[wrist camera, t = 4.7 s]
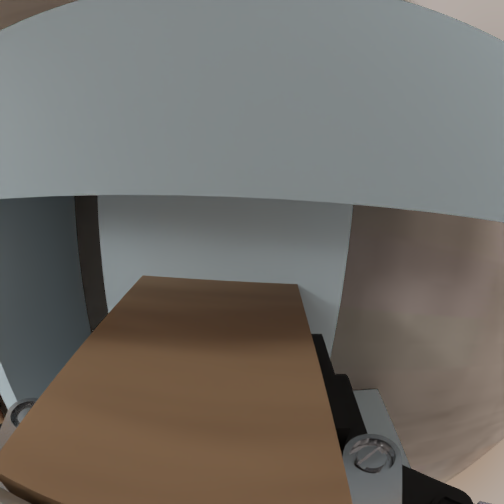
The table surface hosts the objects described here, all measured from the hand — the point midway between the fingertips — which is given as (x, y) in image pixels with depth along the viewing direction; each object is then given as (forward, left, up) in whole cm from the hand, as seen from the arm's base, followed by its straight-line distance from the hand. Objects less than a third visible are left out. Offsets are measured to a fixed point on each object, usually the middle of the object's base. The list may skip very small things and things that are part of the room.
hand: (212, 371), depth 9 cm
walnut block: (0, 0, -1) cm, 1 cm away
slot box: (+2, 0, -5) cm, 6 cm away
